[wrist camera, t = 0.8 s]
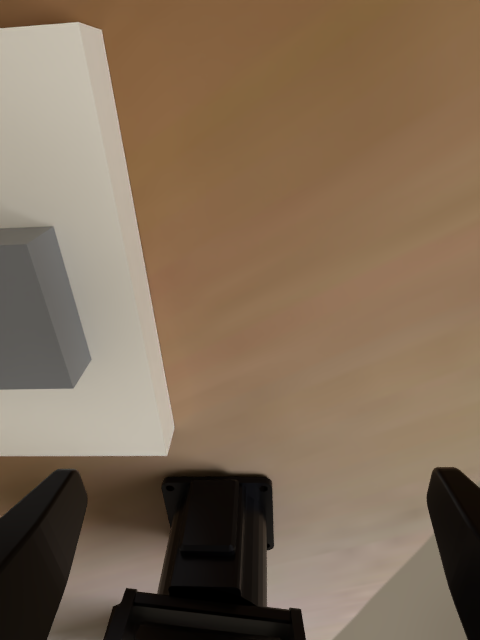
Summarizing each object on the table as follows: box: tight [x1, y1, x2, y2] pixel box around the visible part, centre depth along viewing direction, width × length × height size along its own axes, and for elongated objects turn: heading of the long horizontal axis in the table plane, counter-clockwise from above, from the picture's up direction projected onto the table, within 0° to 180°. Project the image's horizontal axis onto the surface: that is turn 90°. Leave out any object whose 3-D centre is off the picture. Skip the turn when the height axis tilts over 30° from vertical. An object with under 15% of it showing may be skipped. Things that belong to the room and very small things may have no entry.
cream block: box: [0, 22, 175, 456], centre depth 18 cm, size 18×12×2 cm, turn 3°
